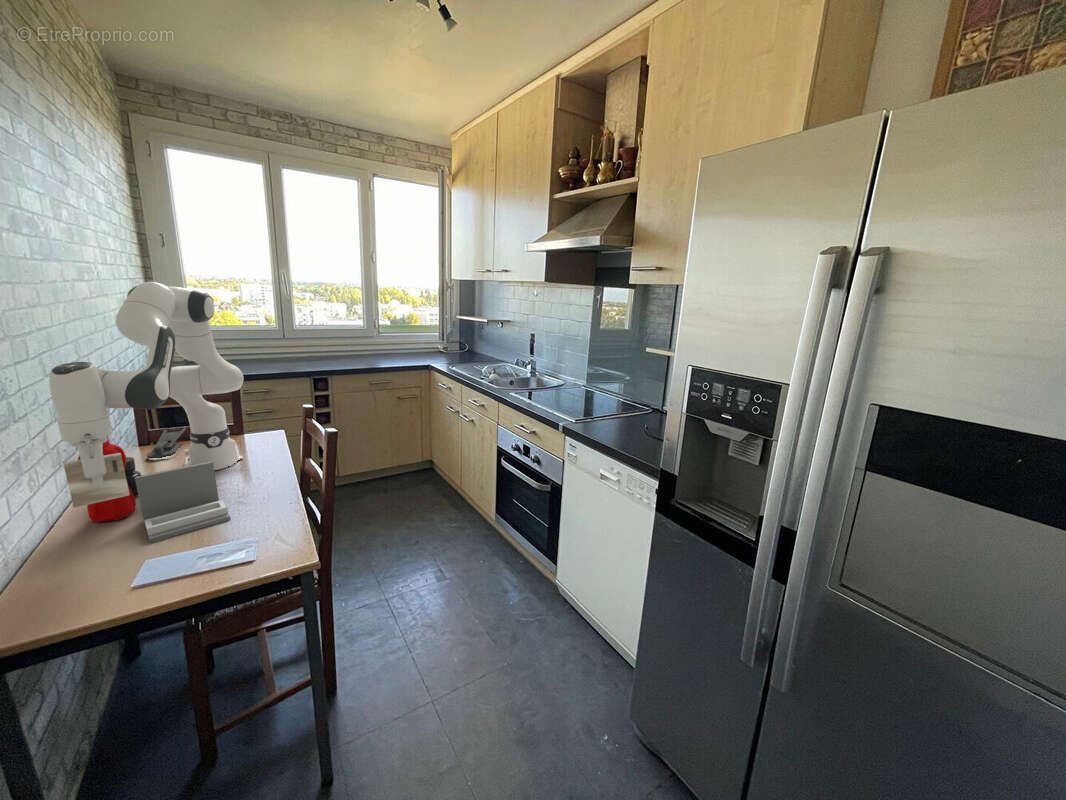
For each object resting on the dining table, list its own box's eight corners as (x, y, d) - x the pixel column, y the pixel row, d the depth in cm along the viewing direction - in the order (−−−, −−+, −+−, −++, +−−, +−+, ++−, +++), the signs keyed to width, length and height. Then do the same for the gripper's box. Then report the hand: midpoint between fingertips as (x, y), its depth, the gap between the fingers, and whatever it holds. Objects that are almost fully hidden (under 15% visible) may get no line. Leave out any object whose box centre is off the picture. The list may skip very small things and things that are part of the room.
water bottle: (82, 528, 121) (62, 444, 115) (101, 511, 131) (84, 432, 125) (124, 522, 124) (107, 440, 119) (140, 506, 134) (125, 429, 128)
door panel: (74, 504, 106) (63, 462, 104) (128, 492, 113) (120, 452, 111) (74, 508, 104) (63, 465, 102) (129, 495, 111) (121, 455, 109)
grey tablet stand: (143, 521, 125) (134, 476, 122) (218, 502, 138) (211, 461, 135) (150, 542, 115) (140, 494, 112) (230, 519, 128) (223, 475, 124)
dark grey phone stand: (188, 426, 193) (170, 443, 171) (190, 440, 194) (173, 459, 172) (163, 428, 189) (141, 446, 167) (165, 442, 191) (144, 462, 169)
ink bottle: (107, 494, 141) (100, 460, 139) (143, 486, 147) (137, 453, 145) (108, 504, 135) (100, 468, 132) (145, 496, 141) (139, 461, 138)
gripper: (107, 437, 100) (119, 492, 103) (102, 418, 114) (113, 467, 117) (67, 443, 95) (81, 500, 99) (68, 423, 109) (80, 474, 112)
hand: (98, 482), depth 108 cm, fingers closed on door panel, 2 cm apart
